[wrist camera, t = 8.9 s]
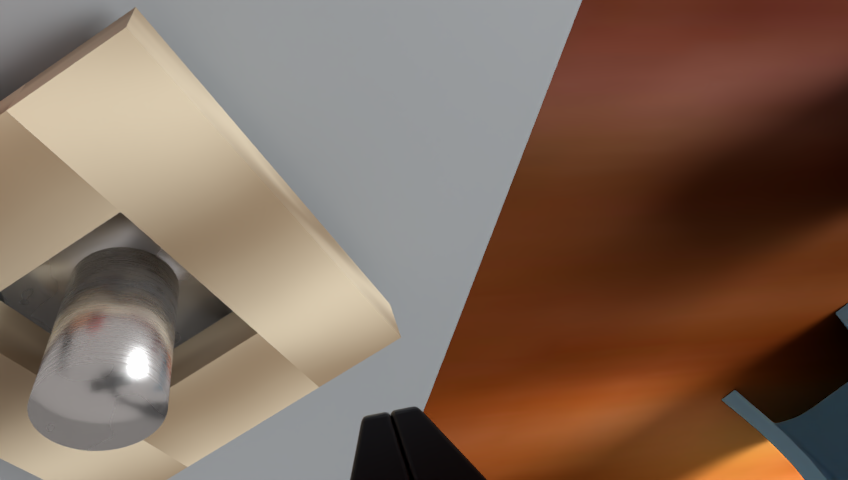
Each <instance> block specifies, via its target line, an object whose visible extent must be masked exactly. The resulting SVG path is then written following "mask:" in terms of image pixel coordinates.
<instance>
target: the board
mask: <svg viewBox="0 0 848 480" xmlns="http://www.w3.org/2000/svg"><path fill="white" fill-rule="evenodd" d="M581 1H582V0H0V101H1V100H3V99H4V98H6V97H7V96H9V95H10V94H11V93H13V92H14V91H16V90H17V89H19V88H20V87H22V86H23V85H24V84H26V83H27V82H29V81H30V80H32V79H33V78H34V77H36V76H37V75H39V74H40V73H42V72H43V71H44V70H46V69H47V68H49V67H50V66H52V65H53V64H54V63H56V62H57V61H59V60H60V59H62V58H63V57H65V56H66V55H67V54H69V53H70V52H72V51H73V50H75V49H76V48H77V47H79V46H80V45H82V44H83V43H85V42H86V41H87V40H89V39H90V38H92V37H93V36H95V35H96V34H97V33H99V32H100V31H102V30H103V29H105V28H106V27H108V26H109V25H110V24H112V23H113V22H115V21H116V20H118V19H119V18H120V17H122V16H123V15H125V14H126V13H128V12H129V11H130V10H132V9H133V8H135V7H136V8H137V9H138V10H139V11H140V13H141V14H142V15H143V16H144V17H145V18H146V20H147V21H148V22H149V23H150V24H151V25H152V27H153V28H154V29H155V30H156V31H157V33H158V34H159V35H160V36H161V37H162V38H163V40H164V41H165V42H166V43H167V44H168V45H169V47H170V48H171V49H172V50H173V51H174V52H175V54H176V55H177V56H178V57H179V58H180V59H181V61H182V62H183V63H184V64H185V65H186V66H187V68H188V69H189V70H190V71H191V72H192V73H193V75H194V76H195V77H196V78H197V79H198V80H199V82H200V83H201V84H202V85H203V86H204V87H205V89H206V90H207V91H208V92H209V93H210V94H211V96H212V97H213V98H214V99H215V100H216V101H217V103H218V104H219V105H220V106H221V107H222V108H223V110H224V111H225V112H226V113H227V114H228V115H229V117H230V118H231V119H232V120H233V121H234V122H235V124H236V125H237V126H238V127H239V128H240V129H241V131H242V132H243V133H244V134H245V135H246V136H247V138H248V139H249V140H250V141H251V142H252V144H253V145H254V146H255V147H256V148H257V149H258V151H259V152H260V153H261V154H262V155H263V156H264V158H265V159H266V160H267V161H268V162H269V163H270V165H271V166H272V167H273V168H274V169H275V170H276V172H277V173H278V174H279V175H280V176H281V177H282V179H283V180H284V181H285V182H286V183H287V184H288V186H289V187H290V188H291V189H292V190H293V191H294V193H295V194H296V195H297V196H298V197H299V198H300V200H301V201H302V202H303V203H304V204H305V205H306V207H307V208H308V209H309V210H310V211H311V212H312V214H313V215H314V216H315V217H316V218H317V219H318V221H319V222H320V223H321V224H322V225H323V226H324V228H325V229H326V230H327V231H328V232H329V233H330V235H331V236H332V237H333V238H334V239H335V240H336V242H337V243H338V244H339V245H340V246H341V247H342V249H343V250H344V251H345V252H346V253H347V255H348V256H349V257H350V258H351V259H352V260H353V262H354V263H355V264H356V265H357V266H358V267H359V269H360V270H361V271H362V272H363V273H364V274H365V276H366V277H367V278H368V279H369V280H370V281H371V283H372V284H373V285H374V286H375V287H376V288H377V290H378V291H379V292H380V293H381V294H382V295H383V297H384V298H385V299H386V300H387V301H388V302H389V304H390V306H391V309H392V312H393V315H394V318H395V321H396V324H397V327H398V330H399V333H400V335H401V338H400V339H398V340H396V341H395V342H393V343H391V344H390V345H388V346H386V347H385V348H383V349H381V350H380V351H378V352H376V353H375V354H373V355H372V356H370V357H368V358H367V359H365V360H363V361H362V362H360V363H358V364H357V365H355V366H353V367H352V368H350V369H348V370H347V371H345V372H344V373H342V374H340V375H339V376H337V377H335V378H334V379H332V380H330V381H329V382H327V383H325V384H324V385H322V386H320V387H319V388H317V389H316V390H314V391H312V392H311V393H309V394H307V395H306V396H304V397H302V398H301V399H299V400H297V401H296V402H294V403H292V404H291V405H289V406H288V407H286V408H284V409H283V410H281V411H279V412H278V413H276V414H274V415H273V416H271V417H269V418H268V419H266V420H264V421H263V422H261V423H260V424H258V425H256V426H255V427H253V428H251V429H250V430H248V431H246V432H245V433H243V434H241V435H240V436H238V437H236V438H235V439H233V440H231V441H230V442H228V443H227V444H225V445H223V446H222V447H220V448H218V449H217V450H215V451H213V452H212V453H210V454H208V455H207V456H205V457H203V458H202V459H200V460H199V461H197V462H195V463H194V464H192V465H190V466H189V467H187V468H185V469H184V470H182V471H180V472H179V473H177V474H175V475H174V476H172V477H171V478H169V479H167V480H350V477H351V472H352V467H353V462H354V456H355V451H356V446H357V441H358V436H359V431H360V425H361V421H362V419H363V417H364V416H367V415H372V414H377V413H382V412H387V413H389V414H391V412H392V411H394V410H397V409H402V408H407V407H412V406H415V407H418V408H419V409H420V410H421V411H422V412H423V411H424V408H425V405H426V403H427V400H428V398H429V395H430V392H431V390H432V387H433V385H434V382H435V379H436V377H437V374H438V372H439V369H440V366H441V364H442V361H443V359H444V356H445V354H446V351H447V348H448V346H449V343H450V341H451V338H452V335H453V333H454V330H455V328H456V325H457V322H458V320H459V317H460V315H461V312H462V310H463V307H464V304H465V302H466V299H467V297H468V294H469V291H470V289H471V286H472V284H473V281H474V278H475V276H476V273H477V271H478V268H479V265H480V263H481V260H482V258H483V255H484V253H485V250H486V247H487V245H488V242H489V240H490V237H491V234H492V232H493V229H494V227H495V224H496V221H497V219H498V216H499V214H500V211H501V208H502V206H503V203H504V201H505V198H506V196H507V193H508V190H509V188H510V185H511V183H512V180H513V177H514V175H515V172H516V170H517V167H518V164H519V162H520V159H521V157H522V154H523V151H524V149H525V146H526V144H527V141H528V139H529V136H530V133H531V131H532V128H533V126H534V123H535V120H536V118H537V115H538V113H539V110H540V107H541V105H542V102H543V100H544V97H545V94H546V92H547V89H548V87H549V84H550V82H551V79H552V76H553V74H554V71H555V69H556V66H557V63H558V61H559V58H560V56H561V53H562V50H563V48H564V45H565V43H566V40H567V37H568V35H569V32H570V30H571V27H572V25H573V22H574V19H575V17H576V14H577V12H578V9H579V6H580V4H581ZM0 301H2V302H3V303H5V301H4V299H3V296H2V293H1V291H0ZM231 312H233V311H231ZM0 480H43V479H41V478H39V477H37V476H35V475H33V474H31V473H29V472H27V471H25V470H23V469H21V468H18V467H16V466H14V465H12V464H10V463H8V462H6V461H4V460H2V459H0Z"/></svg>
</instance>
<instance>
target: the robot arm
mask: <svg viewBox="0 0 848 480" xmlns="http://www.w3.org/2000/svg"><path fill="white" fill-rule="evenodd" d="M350 480H486V478H485V477H484V476H483V475H482V474H481V473H480V472H479V471H478V470H477V469H476V468H475V467H474V466H473V465H472V464H471V463H470V461H469V460H468V459H467V458H466V457H465V456H464V455H463V454H462V453H461V452H460V451H459V450H458V449H457V448H456V447H455V446H454V444H453V443H452V442H451V441H450V440H449V439H448V438H447V437H446V436H445V435H444V434H443V433H442V432H441V431H440V430H439V429H438V427H437V426H436V425H435V424H434V423H433V422H432V421H431V420H430V419H429V418H428V417H427V416H426V415H425V414H424V413H423V412H422V411H421V410H420V409H419V408H418V407H415V406H412V407H407V408H402V409H397V410H394V411H392V412H391V414H389V413H387V412H382V413H377V414H372V415H367V416H364V417H363V419H362V421H361V425H360V431H359V436H358V441H357V446H356V451H355V456H354V462H353V467H352V472H351V477H350Z"/></svg>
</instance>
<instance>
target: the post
mask: <svg viewBox="0 0 848 480" xmlns="http://www.w3.org/2000/svg"><path fill="white" fill-rule="evenodd" d="M1 293H2V296H3V299H4V301H5V304H6V305H8V306H9V307H11V308H12V309H14V310H15V311H17V312H18V313H20V314H21V315H23V316H24V317H26V318H27V319H29V320H30V321H32V322H33V323H35V324H36V325H38V326H39V327H41V328H42V329H44V330H45V331H47V332H48V333H50V337H49V340H48V343H47V346H46V349H45V352H44V355H43V358H42V361H41V364H40V367H39V370H38V373H37V376H36V379H35V382H34V385H33V388H32V391H31V394H30V397H29V400H28V404H27V412H28V417H29V419H30V421H31V423H32V425H33V426H34V428H35V429H36V430H37V431H38V432H39V433H40V434H42V435H43V436H44V437H46V438H47V439H49V440H51V441H53V442H55V443H57V444H59V445H62V446H65V447H69V448H73V449H78V450H87V451H105V450H113V449H119V448H123V447H127V446H130V445H133V444H135V443H138V442H140V441H142V440H144V439H145V438H147V437H149V436H150V435H151V434H153V433H154V432H155V431H156V430H157V429H158V428H159V427H160V426H161V425H162V423H163V421H164V420H165V418H166V415H167V411H168V403H169V392H170V382H171V372H172V361H173V351H174V348H176V347H177V346H179V345H180V344H182V343H184V342H185V341H187V340H188V339H190V338H192V337H193V336H195V335H196V334H198V333H200V332H201V331H203V330H204V329H206V328H207V327H209V326H211V325H212V324H214V323H215V322H217V321H219V320H220V319H222V318H223V317H225V316H227V315H228V314H230V313H231V311H232V310H231V309H230V308H229V307H228V306H227V305H225V304H224V303H223V302H222V301H221V300H220V299H219V298H218V297H216V296H215V295H214V294H213V293H212V292H211V291H210V290H208V289H207V288H206V287H205V286H204V285H203V284H202V283H201V282H199V281H198V280H197V279H196V278H195V277H194V276H193V275H191V274H190V273H189V272H188V271H187V270H186V269H185V268H184V267H182V266H181V265H180V264H179V263H178V262H177V261H176V260H174V259H173V258H172V257H171V256H170V255H169V254H168V253H167V252H165V251H164V250H163V249H162V248H161V247H160V246H159V245H158V244H156V243H155V242H154V241H153V240H152V239H151V238H150V237H148V236H147V235H146V234H145V233H144V232H143V231H142V230H141V229H139V228H138V227H137V226H136V225H135V224H134V223H133V222H131V221H130V220H129V219H128V218H127V217H126V216H125V215H124V214H122V213H121V212H120V213H118V214H117V215H115V216H114V217H112V218H111V219H109V220H108V221H106V222H105V223H103V224H102V225H100V226H99V227H97V228H96V229H94V230H93V231H91V232H90V233H88V234H86V235H85V236H83V237H82V238H80V239H79V240H77V241H76V242H74V243H73V244H71V245H70V246H68V247H67V248H65V249H64V250H62V251H61V252H59V253H58V254H56V255H55V256H53V257H52V258H50V259H49V260H47V261H46V262H44V263H43V264H41V265H40V266H38V267H37V268H35V269H34V270H32V271H31V272H29V273H28V274H26V275H25V276H23V277H21V278H20V279H18V280H17V281H15V282H14V283H12V284H11V285H9V286H8V287H6V288H5V289H3V290H2V291H1Z"/></svg>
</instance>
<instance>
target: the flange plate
mask: <svg viewBox="0 0 848 480" xmlns="http://www.w3.org/2000/svg"><path fill="white" fill-rule="evenodd" d="M120 212H121V213H122V214H124V215H125V216H126V217H127V218H128V219H129V220H130V221H131V222H133V223H134V224H135V225H136V226H137V227H138V228H139V229H141V230H142V231H143V232H144V233H145V234H146V235H147V236H148V237H150V238H151V239H152V240H153V241H154V242H155V243H156V244H158V245H159V246H160V247H161V248H162V249H163V250H164V251H165V252H167V253H168V254H169V255H170V256H171V257H172V258H173V259H174V260H176V261H177V262H178V263H179V264H180V265H181V266H182V267H184V268H185V269H186V270H187V271H188V272H189V273H190V274H191V275H193V276H194V277H195V278H196V279H197V280H198V281H199V282H201V283H202V284H203V285H204V286H205V287H206V288H207V289H208V290H210V291H211V292H212V293H213V294H214V295H215V296H216V297H218V298H219V299H220V300H221V301H222V302H223V303H224V304H225V305H227V306H228V307H229V308H230V309H231V310H232V311H233V312H231V313H230V314H228V315H227V316H225V317H223V318H222V319H220V320H219V321H217V322H215V323H214V324H212V325H211V326H209V327H207V328H206V329H204V330H203V331H201V332H200V333H198V334H196V335H195V336H193V337H192V338H190V339H188V340H187V341H185V342H184V343H182V344H180V345H179V346H177V347H176V348H174V351H173V361H172V372H171V382H170V392H169V403H168V411H167V415H166V418H165V420H164V421H163V423H162V425H161V426H160V427H159V428H158V429H157V430H156V431H155V432H154V433H153V434H151V435H150V436H149V437H147V438H145V439H144V440H142V441H140V442H138V443H135V444H133V445H130V446H127V447H123V448H119V449H113V450H105V451H87V450H78V449H73V448H69V447H65V446H62V445H59V444H57V443H55V442H53V441H51V440H49V439H47V438H46V437H44V436H43V435H42V434H40V433H39V432H38V431H37V430H36V429H35V428H34V426H33V425H32V423H31V421H30V419H29V417H28V412H27V404H28V400H29V397H30V394H31V391H32V388H33V385H34V382H35V379H36V376H37V373H38V370H39V367H40V364H41V361H42V358H43V355H44V352H45V349H46V346H47V343H48V340H49V337H50V333H48V332H47V331H45V330H44V329H42V328H41V327H39V326H38V325H36V324H35V323H33V322H32V321H30V320H29V319H27V318H26V317H24V316H23V315H21V314H20V313H18V312H17V311H15V310H14V309H12V308H11V307H9V306H8V305H6V304H5V303H3V302H2V301H0V459H2V460H4V461H6V462H8V463H10V464H12V465H14V466H16V467H18V468H21V469H23V470H25V471H27V472H29V473H31V474H33V475H35V476H37V477H39V478H41V479H43V480H167V479H169V478H171V477H172V476H174V475H175V474H177V473H179V472H180V471H182V470H184V469H185V468H187V467H189V466H190V465H192V464H194V463H195V462H197V461H199V460H200V459H202V458H203V457H205V456H207V455H208V454H210V453H212V452H213V451H215V450H217V449H218V448H220V447H222V446H223V445H225V444H227V443H228V442H230V441H231V440H233V439H235V438H236V437H238V436H240V435H241V434H243V433H245V432H246V431H248V430H250V429H251V428H253V427H255V426H256V425H258V424H260V423H261V422H263V421H264V420H266V419H268V418H269V417H271V416H273V415H274V414H276V413H278V412H279V411H281V410H283V409H284V408H286V407H288V406H289V405H291V404H292V403H294V402H296V401H297V400H299V399H301V398H302V397H304V396H306V395H307V394H309V393H311V392H312V391H314V390H316V389H317V388H319V387H320V386H322V385H324V384H325V383H327V382H329V381H330V380H332V379H334V378H335V377H337V376H339V375H340V374H342V373H344V372H345V371H347V370H348V369H350V368H352V367H353V366H355V365H357V364H358V363H360V362H362V361H363V360H365V359H367V358H368V357H370V356H372V355H373V354H375V353H376V352H378V351H380V350H381V349H383V348H385V347H386V346H388V345H390V344H391V343H393V342H395V341H396V340H398V339H400V338H401V335H400V333H399V330H398V327H397V324H396V321H395V318H394V315H393V312H392V309H391V306H390V304H389V302H388V301H387V300H386V299H385V298H384V297H383V295H382V294H381V293H380V292H379V291H378V290H377V288H376V287H375V286H374V285H373V284H372V283H371V281H370V280H369V279H368V278H367V277H366V276H365V274H364V273H363V272H362V271H361V270H360V269H359V267H358V266H357V265H356V264H355V263H354V262H353V260H352V259H351V258H350V257H349V256H348V255H347V253H346V252H345V251H344V250H343V249H342V247H341V246H340V245H339V244H338V243H337V242H336V240H335V239H334V238H333V237H332V236H331V235H330V233H329V232H328V231H327V230H326V229H325V228H324V226H323V225H322V224H321V223H320V222H319V221H318V219H317V218H316V217H315V216H314V215H313V214H312V212H311V211H310V210H309V209H308V208H307V207H306V205H305V204H304V203H303V202H302V201H301V200H300V198H299V197H298V196H297V195H296V194H295V193H294V191H293V190H292V189H291V188H290V187H289V186H288V184H287V183H286V182H285V181H284V180H283V179H282V177H281V176H280V175H279V174H278V173H277V172H276V170H275V169H274V168H273V167H272V166H271V165H270V163H269V162H268V161H267V160H266V159H265V158H264V156H263V155H262V154H261V153H260V152H259V151H258V149H257V148H256V147H255V146H254V145H253V144H252V142H251V141H250V140H249V139H248V138H247V136H246V135H245V134H244V133H243V132H242V131H241V129H240V128H239V127H238V126H237V125H236V124H235V122H234V121H233V120H232V119H231V118H230V117H229V115H228V114H227V113H226V112H225V111H224V110H223V108H222V107H221V106H220V105H219V104H218V103H217V101H216V100H215V99H214V98H213V97H212V96H211V94H210V93H209V92H208V91H207V90H206V89H205V87H204V86H203V85H202V84H201V83H200V82H199V80H198V79H197V78H196V77H195V76H194V75H193V73H192V72H191V71H190V70H189V69H188V68H187V66H186V65H185V64H184V63H183V62H182V61H181V59H180V58H179V57H178V56H177V55H176V54H175V52H174V51H173V50H172V49H171V48H170V47H169V45H168V44H167V43H166V42H165V41H164V40H163V38H162V37H161V36H160V35H159V34H158V33H157V31H156V30H155V29H154V28H153V27H152V25H151V24H150V23H149V22H148V21H147V20H146V18H145V17H144V16H143V15H142V14H141V13H140V11H139V10H138V9H137V8H136V7H135V8H133V9H132V10H130V11H129V12H128V13H126V14H125V15H123V16H122V17H120V18H119V19H118V20H116V21H115V22H113V23H112V24H110V25H109V26H108V27H106V28H105V29H103V30H102V31H100V32H99V33H97V34H96V35H95V36H93V37H92V38H90V39H89V40H87V41H86V42H85V43H83V44H82V45H80V46H79V47H77V48H76V49H75V50H73V51H72V52H70V53H69V54H67V55H66V56H65V57H63V58H62V59H60V60H59V61H57V62H56V63H54V64H53V65H52V66H50V67H49V68H47V69H46V70H44V71H43V72H42V73H40V74H39V75H37V76H36V77H34V78H33V79H32V80H30V81H29V82H27V83H26V84H24V85H23V86H22V87H20V88H19V89H17V90H16V91H14V92H13V93H11V94H10V95H9V96H7V97H6V98H4V99H3V100H1V101H0V291H2V290H3V289H5V288H6V287H8V286H9V285H11V284H12V283H14V282H15V281H17V280H18V279H20V278H21V277H23V276H25V275H26V274H28V273H29V272H31V271H32V270H34V269H35V268H37V267H38V266H40V265H41V264H43V263H44V262H46V261H47V260H49V259H50V258H52V257H53V256H55V255H56V254H58V253H59V252H61V251H62V250H64V249H65V248H67V247H68V246H70V245H71V244H73V243H74V242H76V241H77V240H79V239H80V238H82V237H83V236H85V235H86V234H88V233H90V232H91V231H93V230H94V229H96V228H97V227H99V226H100V225H102V224H103V223H105V222H106V221H108V220H109V219H111V218H112V217H114V216H115V215H117V214H118V213H120Z"/></svg>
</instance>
